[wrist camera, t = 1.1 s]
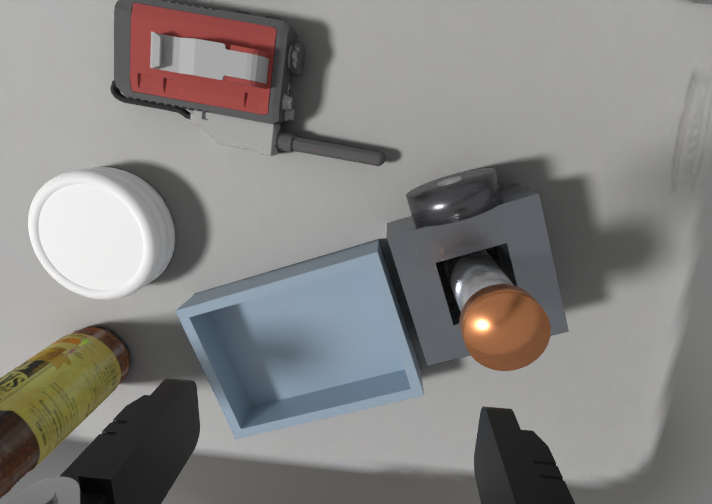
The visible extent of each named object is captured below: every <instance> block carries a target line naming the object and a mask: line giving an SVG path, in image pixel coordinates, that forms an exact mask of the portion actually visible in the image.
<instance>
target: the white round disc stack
mask: <svg viewBox="0 0 712 504" xmlns="http://www.w3.org/2000/svg"><path fill="white" fill-rule="evenodd" d="M28 229H29V235H30V239H31V243H32V246H33V248H34V251H35V253H36V255H37V257H38V259H39V261H40V262H41V264H42V265H43V267H44V268H45V269H46V270H47V272H48V273H49V274H50V275H51V276H52V277H53V278H54V279H55V280H56V281H58V282H59V283H60V284H61V285H63V286H64V287H66V288H67V289H69V290H71V291H73V292H75V293H77V294H80V295H83V296H85V297H89V298H93V299H115V298H121V297H125V296H128V295H130V294H132V293H135V292H136V291H138V290H139V289H141V288H142V287H144V286H145V285H147V284H148V283H150V282H152V281H153V280H155V279H156V278H157V277H158V276H159V275H161V274H162V273H163V271H164V270H165V269H166V267H167V266H168V264H169V262H170V260H171V258H172V255H173V252H174V247H175V229H174V223H173V220H172V216H171V214H170V212H169V209H168V207H167V206H166V204H165V202H164V201H163V199H162V198H161V196H160V195H159V194H158V193H157V192H156V190H155V189H154V188H153V187H151V186H150V185H149V184H148V183H147V182H145V181H144V180H142V179H141V178H139V177H137V176H136V175H134V174H132V173H129V172H126V171H124V170H120V169H116V168H110V167H96V168H90V169H83V170H75V171H69V172H66V173H63V174H60V175H58V176H56V177H54V178H53V179H51V180H49V181H48V182H47V183H46V184H44V185H43V186H42V187H41V188H40V190H39V191H38V192H37V194H36V195H35V197H34V199H33V201H32V204H31V207H30V211H29V217H28Z"/></svg>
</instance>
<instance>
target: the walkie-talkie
mask: <svg viewBox="0 0 712 504" xmlns="http://www.w3.org/2000/svg"><path fill="white" fill-rule="evenodd" d="M296 37H297V34H296V33H295V32H294V31H293V30H292V29H291V28H290V27H289V26H288V25H287V24H286V23H285V22H284V21H282V20H281V19H278V18H273V17H259V16H254V15H250V14H249V13H244V12H239V11H236V12H231V11H225V10H220V9H217V11H216V10H214V9H212V8H209V9H206V8H205V7H202V6H201V7H200V8H199V7H197V6H196V5H192V6H190V5H188V4H184V5H182V4H181V3H179V2H176V3H173V2H172V1H168V2H166V1H164V0H119V1H117V3H116V5H115V11H114V81H112V85H111V93H112V94H113V96H114V97H115V98H116V99H118V100H120V101H122V102H124V103H130V104H136V105H141V106H147V107H152V108H158V109H164V110H168V111H173V112H178V113H180V114H181V115H183V116H184V117H185V118H188V119H190V123H195V124H199V125H200V126H201V127H202V128H203V129H204V130H205V131H206V132H207V133H208V134H209V135H210V136H211V137H212V138H213V139H214V140H215V141H216V142H217V143H218V144H221V145H226V146H232V147H237V148H242V149H248V150H253V151H258V152H260V153H261V154H263V155H269V156H273V155H277V153H278V150H281V151H287V152H292V151H298V152H303V153H309V154H314V155H320V156H325V157H331V158H336V159H342V160H347V161H353V162H359V163H364V164H370V165H375V166H380V165H382V164H383V163H384V162H385V156H384V154H383V153H382V152H380V151H374V150H369V149H363V148H358V147H352V146H347V145H341V144H336V143H330V142H324V141H319V140H313V139H308V138H302V137H297V136H295V135H294V134H291V133H285V132H280V128H281V125H280V124H282V123H284V122H286V121H288V120H291V121H293V120H294V116H295V110H294V109H292V104H293V98H292V97H289V96H290V87H291V79H292V73H293V74H295V75H299V74H300V73H301V71H302V68H303V64H304V45H303V43H302V42H297V41H296ZM120 91H121V92H122V93H123V94H124V95H125V96H126V97H125V96H124V95H122V94H121V92H120ZM183 108H187V109H193V110H194V113H189V112H188V111H187V110H185V109H183Z"/></svg>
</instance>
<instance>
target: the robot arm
mask: <svg viewBox="0 0 712 504" xmlns="http://www.w3.org/2000/svg"><path fill="white" fill-rule="evenodd" d="M688 1H691V2H694V3H706V4H712V0H688ZM199 432H200V420H199V409H198V397H197V386H196V383H195V382H194V381H192V380H180V379H165V380H164V381H163V382H162V383H161V384H160V385H159V386H158V387H157V389H156V390H155V391H154V392H153V393H152V394H151V395H150V396H149V395H144V396H142V397H140V398H139V399H137V400H135V401H134V402H132V403H131V404H129V405H127V406H126V407H125V408H124V409H123V410H122V411H121V412H120V413H119V414H118V415H117V416H116V417H115V418H114V419H113V422H112V423H110V424H109V425H108V426H107V427H106V428H105V429H104V430H103V431H102V434H99V435H98V436H97V437H96V439H95V440H94V441H93V442H92V443H91V444H90V445H89V446H88V447H87V448H86V449H85V450H84V451H83V452H82V453H81V454H80V455H79V457H78V458H77V459H76V460H75V461H74V462H73V463H72V464H71V465H70V466H69V467H68V468H67V469H66V470H65V471H64V472H63V473H62V474H61V476H60V477H52V478H48V479H44V480H41V481H38V482H36V483H34V484H31V485H29V486H27V487H26V488H24V489H22V490H21V491H19V492H18V493H17V494H15V495H14V496H13V497H12V498H11V499H10V500H9V501H8V502H7V503H6V504H161V503H162V501H163V500H164V498H165V496H166V495H167V493H168V491H169V490H170V488H171V487H172V485H173V483H174V482H175V480H176V478H177V477H178V475H179V474H180V472H181V470H182V469H183V467H184V465H185V464H186V462H187V460H188V459H189V457H190V456H191V454H192V452H193V451H194V449H195V447H196V444H197V441H198V438H199ZM474 470H475V478H476V483H477V487H478V491H479V496H480V500H481V504H575V503H574V500H573V498H572V496H571V494H570V492H569V490H568V488H567V485H566V483H565V481H563V479H562V478H563V477H562V475H561V473H560V471H559V469H558V466H556V462H555V460H554V458H553V456H552V454H551V452H550V449H549V447H548V446H547V445H546V444H545V443H544V442H543V441H542V440H541V439H540V438H539V437H538V436H537V435H536V433H535V432H534V431H528V430H521V429H520V427H519V424H518V422H517V419H516V417H515V415H514V412H513V411H512V409H505V408H494V407H482V409H481V413H480V420H479V426H478V433H477V440H476V447H475V454H474Z"/></svg>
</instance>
